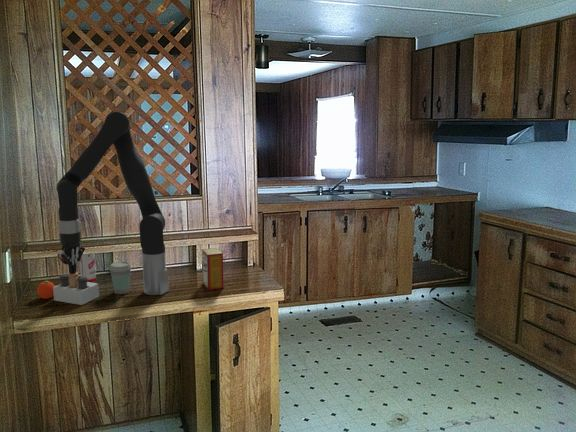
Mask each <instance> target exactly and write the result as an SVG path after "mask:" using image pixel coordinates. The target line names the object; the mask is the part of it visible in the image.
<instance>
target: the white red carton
mask: <svg viewBox="0 0 576 432" xmlns="http://www.w3.org/2000/svg"><path fill="white" fill-rule="evenodd" d="M79 268H80V270H79V271H80V277H87V278H88V280H87V282H91V283H96V281H97V271H96V256H95V252H94V253H90V254H83V255H82V257H81V259H80V261H79Z"/></svg>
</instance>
